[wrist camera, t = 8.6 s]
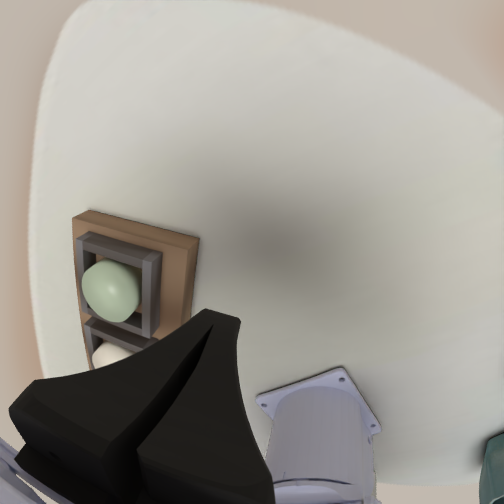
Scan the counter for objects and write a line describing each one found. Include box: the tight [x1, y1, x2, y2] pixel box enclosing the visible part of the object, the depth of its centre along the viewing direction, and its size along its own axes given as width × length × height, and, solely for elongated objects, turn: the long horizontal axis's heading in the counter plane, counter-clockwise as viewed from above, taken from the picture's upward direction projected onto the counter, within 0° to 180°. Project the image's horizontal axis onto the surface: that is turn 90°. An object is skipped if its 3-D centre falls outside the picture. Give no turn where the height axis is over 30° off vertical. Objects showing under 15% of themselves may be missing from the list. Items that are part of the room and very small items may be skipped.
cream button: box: [92, 340, 137, 369], centre depth 22 cm, size 4×4×2 cm
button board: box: [72, 210, 199, 370], centre depth 24 cm, size 21×9×4 cm, turn 169°
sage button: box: [82, 257, 142, 322], centre depth 19 cm, size 4×4×2 cm
